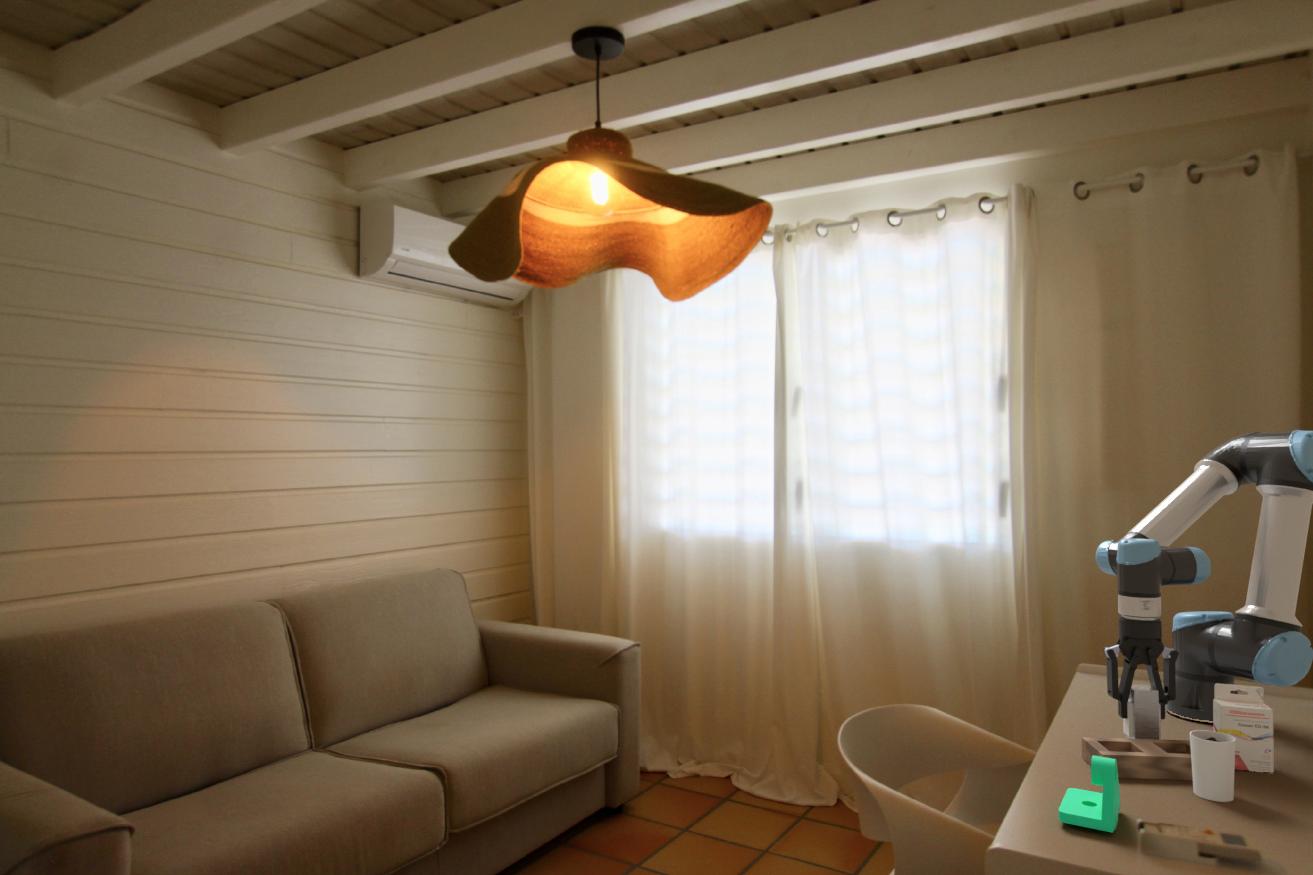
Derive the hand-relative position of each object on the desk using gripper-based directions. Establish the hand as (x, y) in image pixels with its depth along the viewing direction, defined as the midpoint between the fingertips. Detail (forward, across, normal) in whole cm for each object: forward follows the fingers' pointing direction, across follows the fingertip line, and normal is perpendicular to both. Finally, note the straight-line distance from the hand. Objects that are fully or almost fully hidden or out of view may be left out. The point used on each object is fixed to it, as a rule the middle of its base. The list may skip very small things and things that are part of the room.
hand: (1142, 734), depth 170 cm
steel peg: (+3, 0, 0) cm, 3 cm away
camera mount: (+3, -24, -36) cm, 43 cm away
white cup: (+3, +1, -24) cm, 24 cm away
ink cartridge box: (+3, +14, -9) cm, 17 cm away
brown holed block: (+3, -4, -12) cm, 13 cm away
